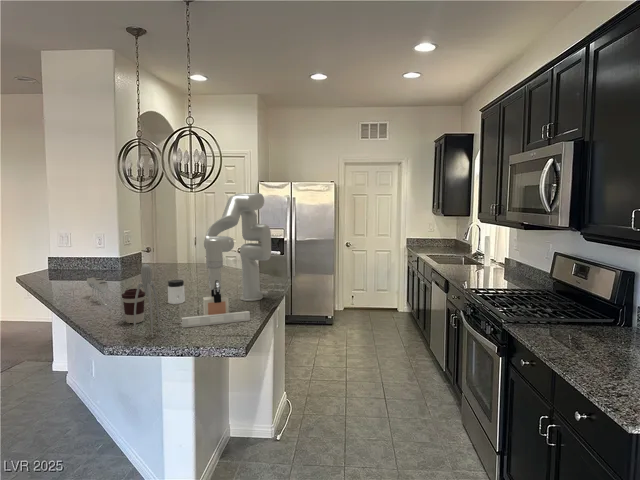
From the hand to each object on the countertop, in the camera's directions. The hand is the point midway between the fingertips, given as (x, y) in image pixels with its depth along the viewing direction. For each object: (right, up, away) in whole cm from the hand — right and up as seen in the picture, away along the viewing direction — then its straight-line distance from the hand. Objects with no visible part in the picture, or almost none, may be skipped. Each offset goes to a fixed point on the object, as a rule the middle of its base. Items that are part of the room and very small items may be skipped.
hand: (216, 300), depth 206 cm
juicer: (-24, -11, -24) cm, 36 cm away
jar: (-30, -6, +34) cm, 46 cm away
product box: (0, -9, +1) cm, 9 cm away
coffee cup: (-37, -10, -4) cm, 38 cm away
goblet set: (-76, -6, +40) cm, 86 cm away
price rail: (+2, -9, -8) cm, 13 cm away
